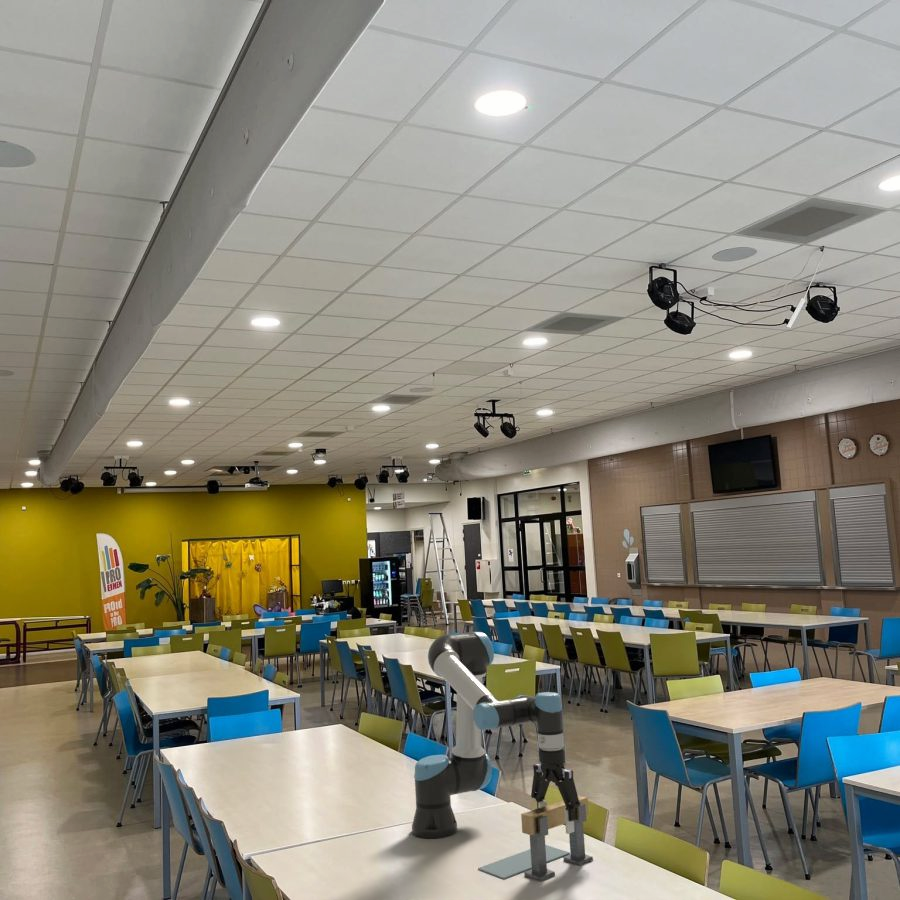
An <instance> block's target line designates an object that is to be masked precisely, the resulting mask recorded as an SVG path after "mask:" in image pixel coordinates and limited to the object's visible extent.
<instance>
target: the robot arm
mask: <svg viewBox="0 0 900 900" xmlns="http://www.w3.org/2000/svg"><path fill="white" fill-rule="evenodd" d="M427 659H428V664H429V666H430V669H431V670H432V671H433V673H434V674H435V675H436V676H437V677H439V678H442V679H444V681H446V682H447V683H448V684H449V685H450V687H451V688H452V689H453V690H454V691H455V692H456V721H455V723H456V724H455V725H456V727H455V729H456V731H455V732H456V733H455V746H453V748H452V749H451V753H450V754H451V756H450V758H449V757H448V756H447V755H446V754H436V755H435V754H434V755H428V756H426V757H423V758H420V759H419V760H417V762H416V764H415V765H414V775H413V776H414V787H415V789H414V791H415V805H416V806H415V807H416V808H415V813H414V816H413V821H412V823H411V833H412V835H413V836H415V837H418V838H422V839H439V838H444V837H448V836H452V835H454V834H455V833H457V831H458V824H457V823H458V822H457V819H456V817H455V814H454V811H453V808H452V802H451V796H454V795H459V794H464V793H469V792H476V791H478V790H481V789H484V788H485V787H488V785H489V783H490V781H491V778H492V771H493V768H492V763H491V758H490V756H489V755H488V754H487V753H486V750H485V749H484V748H483V747H482V730H483V731H484V730H495V729H499V728H504V727H511V726H518V725H523V724H535V725H536V729H537V730H536V731H537V743H538V744H537V745H538V748H539V749H538V758H539V759H538V762H540V763H535V764H533V766H532V767H533V778H532V786H531V793H530V797H531V798H532V799H534V800H535V802H536V809H538V808H541V807H544V806H548V805H547V800H546V795H547V791H548V789H549V785H550V783H554V784H555V786H556V787H557V789H558V791H559V794H560V796H561V798H562V801H564V803H565V805H566V808H565V809H564V811H565V824H564V825H565V833H566V834H567V835H569V833H572V832H574V820H575V811H574V809H575V808H576V807H579V806H580V803H579V799H578V796H579V795H578V792H577V788H576V784H575V780H574V771H573V769H569V770H568V769H566V768H565V761H566V754H565V752H566V751H565V748H564V747H565V741H564V740H565V739H564V725H563V711H562V710H563V706H562V700H561V696H560V694H559V693H558V692H550V691H543V692H538V693H536V694H535V696H531V695H528V694H527V695H523V694H521V695H517V696H516V697H514V698H511V699H510V698H509V699H504V700H503V699H502V700H500V699H498V698H497V697H496V696H494V695H493V693H491V692H490V691H489V689H488V688H487V687H486V686H485V685H484V684H483V677H484V676H485V675H486V674H487V673H488V671H487V669H488V666H490V665H492V663H493V662H494V659H495V652H494V646H493V644H492V642H491V640H490V638H489V636H488V635H487V634H486V633H484V632H482V631H469V632H467V631H466V632H460V633H459V632H458V633H451V634H450V633H448V634H442V635H440V636H439V637H436V639H435V640H434V641H433V642H432V643H431V645H430V646H429V649H428V653H427ZM569 803H570V804H569Z"/></svg>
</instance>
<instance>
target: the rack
mask: <svg viewBox="0 0 900 900" xmlns="http://www.w3.org/2000/svg"><path fill="white" fill-rule="evenodd" d="M585 822H587V816H586V806H585V804H584V803H583V804H580V806H579V807H577V820H574V832H572V833H569V834H568V837H569V839H568V840H569V849H570V851H569V852H570V854H569V855H566V856H564V857H562V858H563V861H564V862H566V863H568V864H569V863H570V864H572V865H575V866H578V867H579V866H582V865H584V864H587V863H590V862H592V861H594V856H592V855H589V854H586V848H585V846H586V845H585V834H584V823H585ZM538 831H539V833H537V834H534V835H529V845H530V846H529V847H530V848H529V849H530V850H531V865H532V869H530V870H527V871H525V872H523V874H524V877H526V878H529V879H532V880H534V881H538V882H539V883H540V882H542V881H545V880H548V879H550V878H553V877H554V876H556V872H555V871H554V870H550V869H548V863H547V862H546V847H545V845H546V836H549V829H548V820H547V816H544V817H541V818H538Z"/></svg>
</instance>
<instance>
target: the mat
mask: <svg viewBox="0 0 900 900" xmlns="http://www.w3.org/2000/svg"><path fill="white" fill-rule="evenodd" d="M545 847H546V862H547V864H548V863H550V861H551V862H552V861H555V859H556V860H558V859H561V858H563V857H565V856H568V855H571V853H570V851H567V850H563V849H560V848H557V847H555V846H550V845H547V844H545ZM477 870H478V871H481V872H484V873H486V874H489V875H491V876H494V877H497V878H500V879H501V880H506V879H509V878H511V877H513V876H516V875H519V874H521V873H524V872H526V871H529V870H532V865H531V850H530V848H529V849H527V850H524V851H521V852H518V853H515V854H513V855H510V856H507V857H505V858H502V859H499V860H497V861H494V862H490V863H488V864H486V865H482V866H480V867H478V868H477Z"/></svg>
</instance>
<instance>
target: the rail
mask: <svg viewBox="0 0 900 900" xmlns="http://www.w3.org/2000/svg"><path fill="white" fill-rule="evenodd" d="M578 799H579V803H580V804H583V803H584V804H585V806H586V817H588V816H589V815H590V814H589V813H590V811H589V801H588V797H586V796H582V795H578ZM569 804H570V803H569ZM565 808H566V805H565V803H564V801H563V800H560V801H558V802H554V803H550V804H548V805H547V806H544V807H541V808H538V809H537V808H535V809H533V810H529V811H527V812H523V813H521V814H520V816H521V817H520V819H521V830H522V831H521V833H522V834H526V835H529V836H530V835H534V834H537V833H539V831H538V818H541V817H544V816H547V820H548V830H551V829H554V828H557V827H560V826H562V825H565V811H564V809H565ZM574 811H575V820H577V807H576V808H575V809H574Z"/></svg>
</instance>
